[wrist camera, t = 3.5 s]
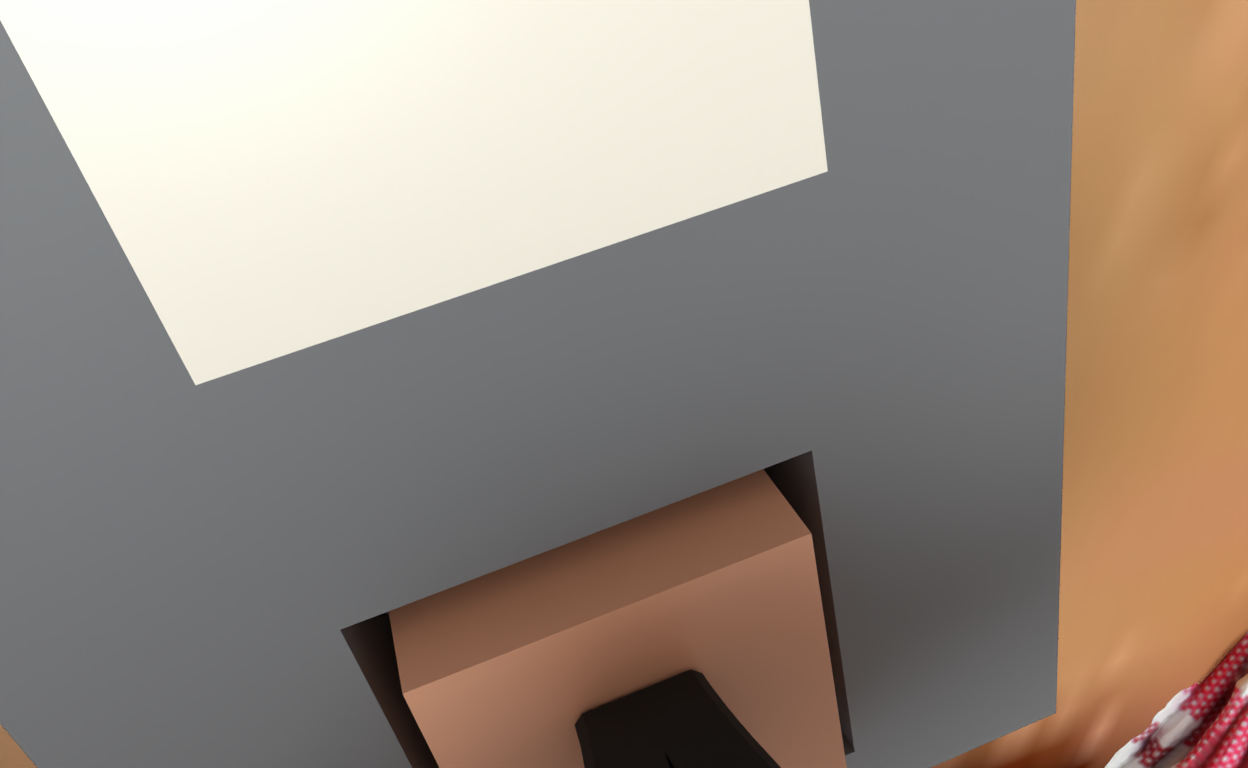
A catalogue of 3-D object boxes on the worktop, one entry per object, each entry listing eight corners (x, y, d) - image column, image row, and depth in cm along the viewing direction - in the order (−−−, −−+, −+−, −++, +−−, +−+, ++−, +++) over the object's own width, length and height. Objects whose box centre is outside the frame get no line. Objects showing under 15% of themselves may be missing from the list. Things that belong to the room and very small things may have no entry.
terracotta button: (475, 734, 14) (521, 930, 12) (370, 507, 12) (401, 693, 10) (751, 623, 15) (849, 788, 13) (702, 388, 13) (811, 533, 10)
